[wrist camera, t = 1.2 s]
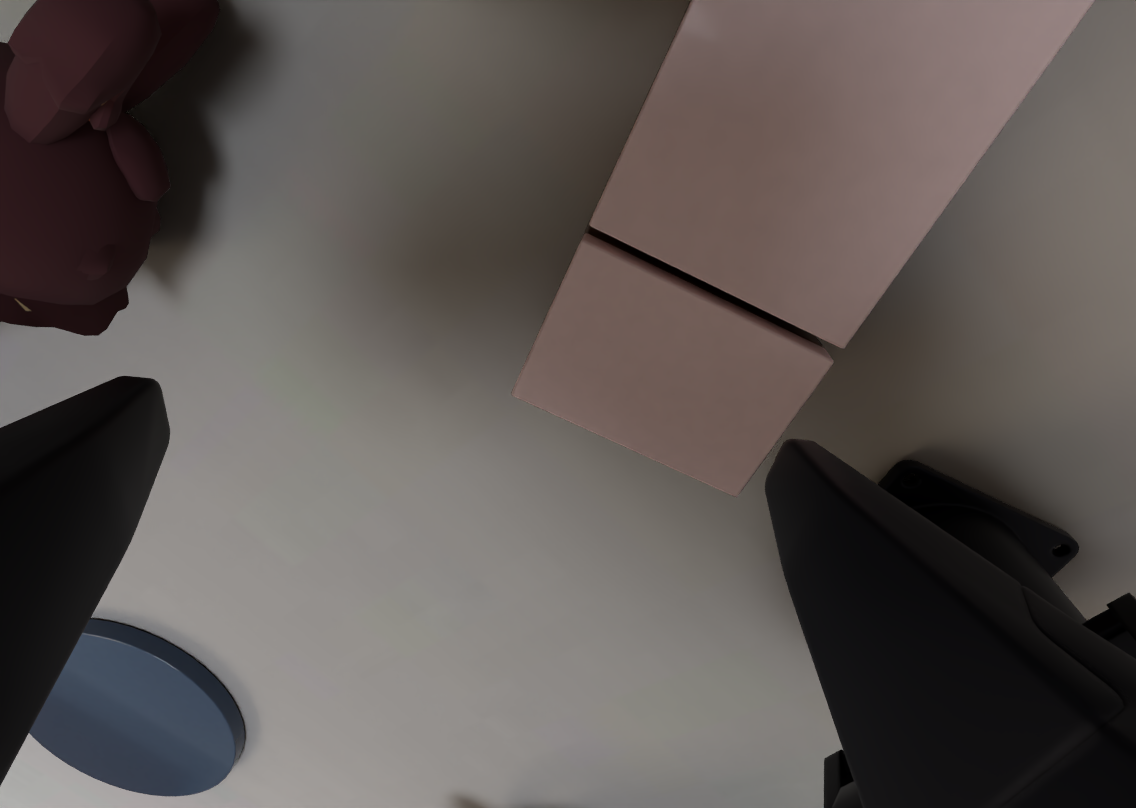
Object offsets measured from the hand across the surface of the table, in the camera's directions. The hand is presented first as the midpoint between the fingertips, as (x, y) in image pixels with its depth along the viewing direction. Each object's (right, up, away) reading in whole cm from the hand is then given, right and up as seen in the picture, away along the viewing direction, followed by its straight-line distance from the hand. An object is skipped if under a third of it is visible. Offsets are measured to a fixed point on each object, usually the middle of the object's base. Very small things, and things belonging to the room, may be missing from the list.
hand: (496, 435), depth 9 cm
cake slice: (+4, +3, +9) cm, 11 cm away
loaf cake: (+7, +9, +6) cm, 13 cm away
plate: (-19, -14, +21) cm, 32 cm away
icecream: (-13, +7, +10) cm, 18 cm away
